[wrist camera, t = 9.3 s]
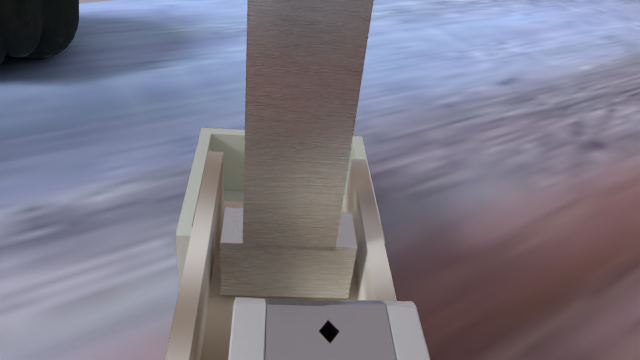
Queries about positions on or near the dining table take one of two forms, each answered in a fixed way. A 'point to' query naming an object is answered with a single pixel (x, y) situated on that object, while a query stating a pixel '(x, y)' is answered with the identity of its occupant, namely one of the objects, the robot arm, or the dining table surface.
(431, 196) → the dining table surface
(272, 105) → the plunger
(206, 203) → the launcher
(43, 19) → the squash
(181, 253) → the cup
